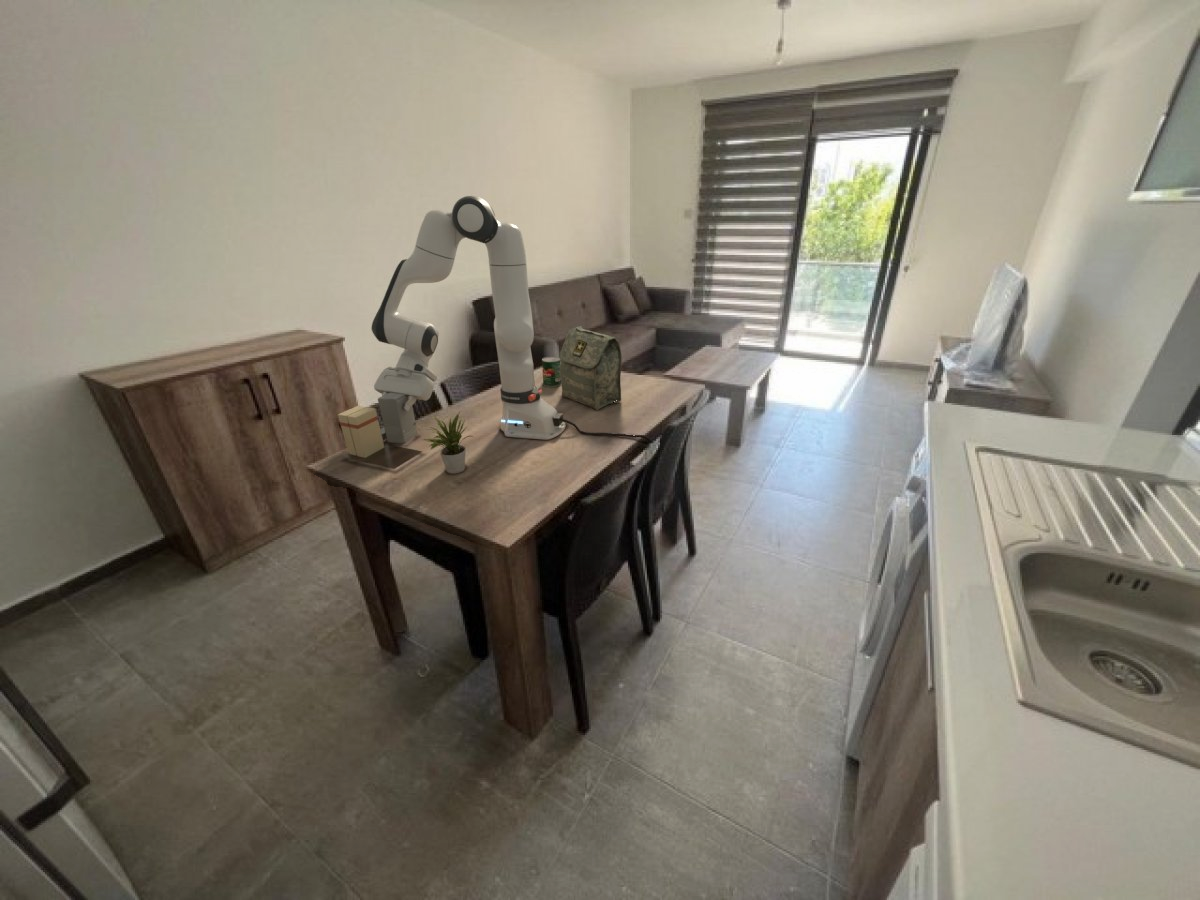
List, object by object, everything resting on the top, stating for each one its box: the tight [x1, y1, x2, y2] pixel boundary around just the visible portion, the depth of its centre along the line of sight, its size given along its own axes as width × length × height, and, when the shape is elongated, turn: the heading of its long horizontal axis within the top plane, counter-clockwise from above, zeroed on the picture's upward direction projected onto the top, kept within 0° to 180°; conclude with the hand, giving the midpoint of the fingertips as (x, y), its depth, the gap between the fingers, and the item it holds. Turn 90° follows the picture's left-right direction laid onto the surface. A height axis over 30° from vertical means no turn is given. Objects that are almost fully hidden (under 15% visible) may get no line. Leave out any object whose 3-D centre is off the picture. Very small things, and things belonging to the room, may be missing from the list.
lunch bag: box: [558, 325, 623, 411], centre depth 183 cm, size 22×16×27 cm
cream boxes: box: [337, 405, 385, 458], centre depth 144 cm, size 7×8×13 cm
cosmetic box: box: [377, 392, 419, 444], centre depth 153 cm, size 8×7×16 cm
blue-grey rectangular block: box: [380, 426, 387, 441], centre depth 158 cm, size 4×10×3 cm, turn 158°
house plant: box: [422, 411, 474, 475], centre depth 136 cm, size 14×14×16 cm
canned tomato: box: [541, 356, 561, 388], centre depth 205 cm, size 8×8×11 cm
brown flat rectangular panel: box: [342, 443, 423, 470], centre depth 145 cm, size 20×12×1 cm, turn 68°
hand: (394, 408), depth 151 cm, fingers closed on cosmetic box, 7 cm apart
